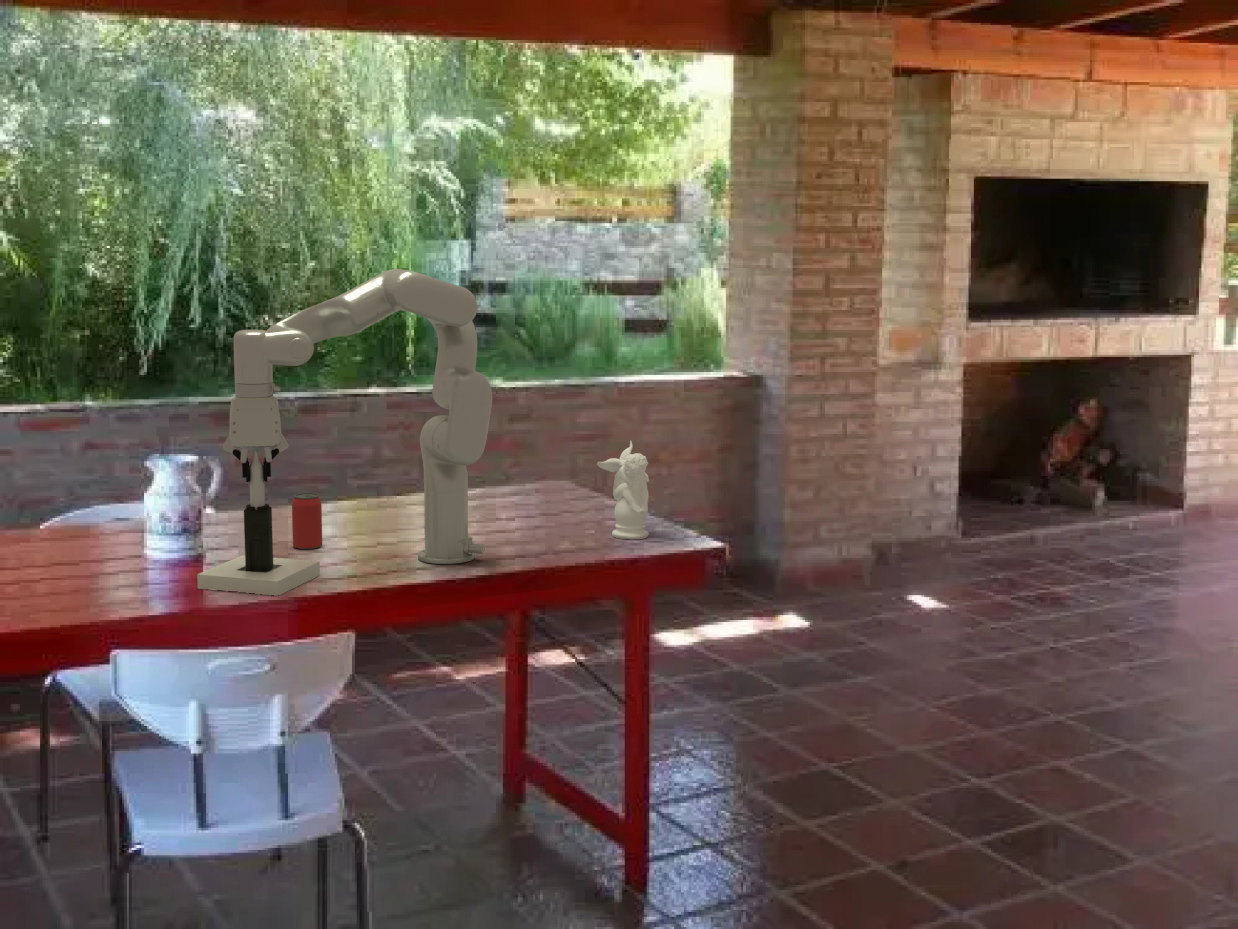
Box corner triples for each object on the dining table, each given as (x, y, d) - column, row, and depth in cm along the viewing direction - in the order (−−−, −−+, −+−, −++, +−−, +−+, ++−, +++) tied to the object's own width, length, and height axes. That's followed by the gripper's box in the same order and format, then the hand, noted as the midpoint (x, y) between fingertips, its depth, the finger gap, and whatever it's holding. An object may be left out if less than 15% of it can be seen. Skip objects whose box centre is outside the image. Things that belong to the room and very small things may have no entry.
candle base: (319, 575, 329) (319, 561, 328) (277, 596, 312) (277, 581, 311) (243, 568, 334) (243, 555, 333) (197, 588, 317) (197, 574, 316)
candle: (274, 566, 325) (270, 447, 320) (269, 572, 320) (266, 451, 315) (249, 566, 325) (245, 447, 320) (244, 572, 320) (240, 451, 315)
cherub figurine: (649, 542, 364) (650, 448, 360) (595, 541, 364) (596, 448, 360) (647, 529, 376) (649, 439, 372) (596, 529, 376) (597, 439, 372)
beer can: (315, 551, 351) (314, 498, 349) (288, 549, 352) (286, 497, 350) (326, 544, 357) (325, 493, 355) (299, 543, 358) (298, 491, 356)
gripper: (294, 388, 321) (297, 476, 324) (212, 389, 318) (215, 478, 321) (296, 392, 314) (298, 482, 317) (212, 394, 310) (215, 485, 314)
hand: (256, 480), depth 319 cm, fingers closed on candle, 3 cm apart
